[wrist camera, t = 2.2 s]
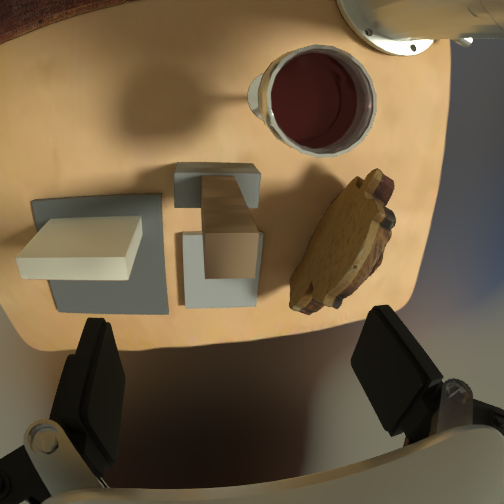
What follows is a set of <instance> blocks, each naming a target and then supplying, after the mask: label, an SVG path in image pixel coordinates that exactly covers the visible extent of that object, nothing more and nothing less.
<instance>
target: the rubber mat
mask: <svg viewBox="0 0 504 504" xmlns="http://www.w3.org/2000/svg"><path fill="white" fill-rule="evenodd" d="M32 206H33V212H34V218H35V223H36V228H37V233H38V231H39V230H40V229H41V228H42V227H43V226H44V225H45V224H46V223H47V222H48V221H49V220H50V219H60V218H84V217H115V216H141V221H142V234H143V235H142V238H141V241H140V244H139V247H138V250H137V253H136V257H135V260H134V263H133V266H132V270H131V273H130V276H129V280H125V281H114V280H49V282H50V285H51V289H52V292H53V296H54V299H55V302H56V305H57V308H58V311H59V312H66V313H91V314H146V315H165V314H169V308H168V298H167V286H166V274H165V259H164V243H163V222H162V194H123V195H99V196H79V197H63V198H48V199H35V200H33V201H32Z"/></svg>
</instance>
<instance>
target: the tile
mask: <svg viewBox="0 0 504 504" xmlns="http://www.w3.org/2000/svg"><path fill="white" fill-rule="evenodd" d="M142 235H143V234H142V221H141V216H115V217H84V218H60V219H50V220H49V221H48V222H47V223H46V224H45V225H44V226H43V227H42V228H41V229H40V230H39V231H38V233H37V234H36V235H35V236H34V237H33V238H32V239H31V240H30V241H29V243H28V244H27V245H26V246H25V247H24V248H23V249H22V251H21V252H20V253H19V254H18V255H17V256H16V258H15V259H16V262H17V266H18V269H19V272H20V276H21V279H36V280H114V281H125V280H129V276H130V273H131V270H132V266H133V263H134V260H135V257H136V253H137V250H138V247H139V244H140V241H141V238H142Z"/></svg>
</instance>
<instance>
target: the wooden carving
mask: <svg viewBox="0 0 504 504" xmlns="http://www.w3.org/2000/svg"><path fill="white" fill-rule="evenodd" d="M393 190H394V181H393V180H392V179H390V178H389V177H387V176H385V175H384V174H383V173H382V171H381V170H380V169H378V168H377V169H374V170H372V171H371V172H370V173H369V174H368V175H367V177H366V178H365V180H363V179H362V178H360V177H358V176H357V177H355V178H354V179H353V180H352V181H351V182H350V183H349V184H348V185H347V187H346V188H345V189H344V190H343V191H342V192H341V193H340V194H339V196H338V197H337V198H336V199H335V200H334V202H333V203H332V204H331V206H330V207H329V209H328V210H327V212H326V213H325V215H324V216H323V218H322V219H321V221H320V223H319V225H318V226H317V228H316V230H315V232H314V234H313V236H312V238H311V240H310V243H309V245H308V248H307V251H306V254H305V256H304V258H303V260H302V262H301V263H300V264H299V266H298V267H297V268H296V269H295V271H294V273H293V275H292V277H291V279H290V302H289V307H290V308H291V309H292V310H294V311H299V312H301V313H304V314H307V315H310V314H312V313H313V312H317V311H318V310H320V309H321V308H322V307H323V306H324V305H325V306H328V307H333V308H335V309H338V308H339V307H340V306H341V304H342V301H343V299H344V298H346V297H347V296H350V295H351V294H352V293H353V292H354V291H355V290H357V289H358V287H359V286H360V285H361V284H362V283H363V282H364V281H365V280H366V279H367V278H368V277H369V276H371V275H372V274H373V273H374V271H375V270H376V269H377V268H378V267H379V266H380V264H381V262H382V259H383V252H384V249H385V246H386V244H387V243H388V241H389V240H390V238H391V235H392V231H391V229H392V228H393V227H394V226H395V223H396V218H395V215H394V213H393V211H392V210H390V209H388V208H386V207H385V206H386V205H387V203H388V201H389V199H390V198H391V195H392V193H393Z"/></svg>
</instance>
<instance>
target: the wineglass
mask: <svg viewBox="0 0 504 504" xmlns="http://www.w3.org/2000/svg"><path fill="white" fill-rule="evenodd" d="M248 103H249V105H250V108H251V110H252V111H253V113H254V114H255V115H256V116H257V117H259V118H260V119H262V120H263V121H264V123H265V125H266V126H267V128H268V129H269V130H270V131H271V132H272V134H273V135H274V136H275V137H276V139H278V140H280V141H281V142H283V143H284V144H286V145H287V146H289V147H290V148H294V149H296V150H297V151H299V152H300V153H303V154H307V155H310V156H314V157H317V158H320V157H336V156H338V155H341V154H344V153H346V152H349V151H351V150H352V149H353V148H354V147H356V146H357V145H358V144H360V143H361V142H362V141H363V140H364V138H365V137H366V135H367V134H368V132H369V131H370V129H371V128H372V125H373V121H374V118H375V115H376V92H375V89H374V85H373V82H372V79H371V77H370V76H369V74H368V73H367V71H366V69H365V68H364V66H363V65H362V64H361V63H360V62H359V61H358V60H357V59H355V58H354V57H353V56H352V55H351V54H349V53H348V52H345V51H343V50H341V49H338V48H336V47H333V46H326V45H311V46H307V47H303V48H300V49H297V50H293V51H290V52H287V53H285V54H283V55H282V56H280V57H279V58H277V59H276V60H275V61H273V62H272V63H271V64H270V66H269V67H268V68H267V70H266V71H265V73H263V74H261V75H260V76H258V77H257V78H256V79H254V81H253V82H252V84H251V85H250V88H249V91H248Z"/></svg>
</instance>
